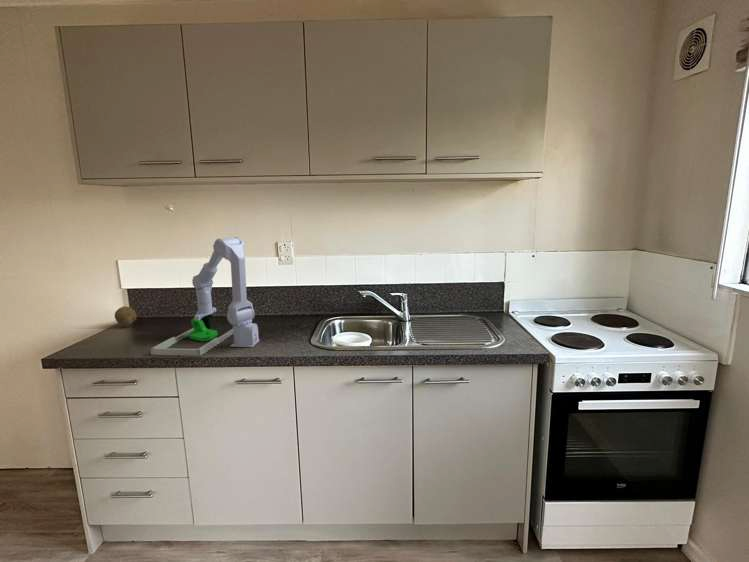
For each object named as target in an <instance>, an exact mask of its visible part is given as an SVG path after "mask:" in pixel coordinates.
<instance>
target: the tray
mask: <svg viewBox="0 0 749 562" xmlns="http://www.w3.org/2000/svg"><path fill="white" fill-rule="evenodd" d="M175 337H176V336H172V337H170V338H168V339H166V340H164V341H163V342H161V343H159V344H157V345H155V346H153V347H151V348H150V355H151V356H178V355H180V356H185V357H186V356H187V357H189V356H190V357H201V356H203V355H204V354H206V353H207V352H209V351H211V350H212V349H213V348H215V347H216V346H218V345H219V344H220V343H219V340H218V338H219V337H214V338H213V339H211V340H209V341H207V342H206V343H205V344H204V345H202V346H200V347H199V348H173V347H172V348H169V347H171V346H173V345H175V344H176V343H177V342H176V338H175ZM174 343H175V344H174ZM172 344H173V345H172ZM217 344H218V345H217ZM214 346H215V347H214ZM211 348H212V349H211ZM208 350H209V351H208ZM202 354H203V355H202Z"/></svg>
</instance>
